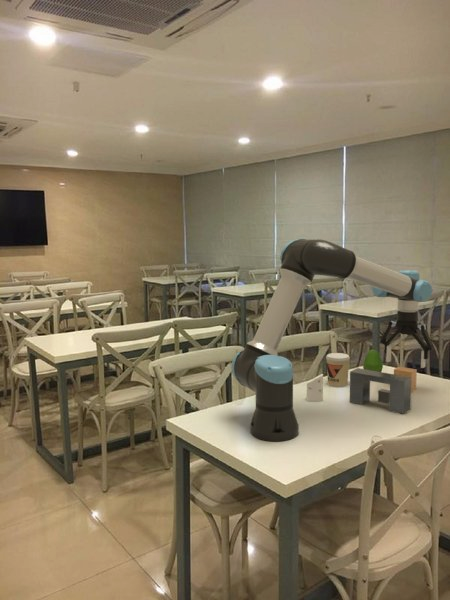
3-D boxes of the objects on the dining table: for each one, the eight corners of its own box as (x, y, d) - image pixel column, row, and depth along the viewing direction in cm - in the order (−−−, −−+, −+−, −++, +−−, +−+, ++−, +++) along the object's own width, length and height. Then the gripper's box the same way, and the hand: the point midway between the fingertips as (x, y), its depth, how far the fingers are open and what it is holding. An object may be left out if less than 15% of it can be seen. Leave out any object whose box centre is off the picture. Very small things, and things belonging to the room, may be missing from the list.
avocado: (373, 380, 209) (374, 352, 207) (359, 376, 215) (359, 349, 214) (386, 377, 213) (387, 349, 212) (371, 373, 220) (372, 346, 218)
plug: (392, 404, 180) (393, 382, 179) (374, 400, 185) (374, 379, 184) (416, 389, 197) (416, 369, 196) (398, 385, 201) (399, 366, 200)
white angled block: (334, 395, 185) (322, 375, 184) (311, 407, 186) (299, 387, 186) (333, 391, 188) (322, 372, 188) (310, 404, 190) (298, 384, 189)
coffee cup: (321, 384, 206) (321, 355, 204) (334, 379, 212) (335, 351, 210) (340, 389, 199) (340, 359, 197) (353, 384, 205) (354, 355, 204)
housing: (403, 414, 171) (404, 381, 169) (349, 402, 184) (350, 371, 182) (410, 409, 175) (411, 377, 174) (357, 397, 188) (357, 368, 187)
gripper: (444, 312, 188) (441, 367, 191) (380, 306, 204) (378, 357, 207) (437, 314, 183) (435, 371, 185) (372, 308, 199) (371, 361, 202)
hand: (405, 364), depth 196 cm, fingers open, 13 cm apart
